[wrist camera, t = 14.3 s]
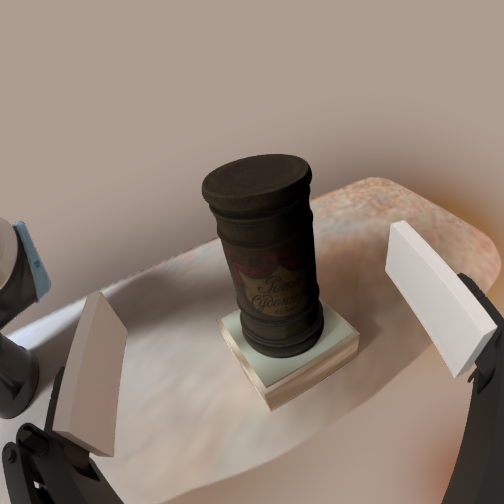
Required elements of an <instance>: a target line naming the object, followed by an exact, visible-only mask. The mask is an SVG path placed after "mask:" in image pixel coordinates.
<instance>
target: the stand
mask: <svg viewBox="0 0 504 504" xmlns="http://www.w3.org/2000/svg"><path fill="white" fill-rule="evenodd" d="M319 300H320V302H321V304H322V307H323V315H324V329H323V332H322V334H321V336H320V338H319V340H318V341H317V343H316V344H315V345H314V346H313V347H312V348H311V349H309V350H308V351H306V352H304V353H303V354H300V355H298V356H295V357H290V358H282V359H281V358H271V357H267V356H264V355H262V354H260V353H258V352H257V351H255V350H254V349H253V348H252V347H251V346H250V345H249V344H248V343H247V341H246V340H245V338H244V336H243V333H242V326H241V323H240V311H241V310H240V309H237V310H235V311H233V312H232V313H230V314H228V315H226V316H224V317H222V318H220V319H218V320H216V321H217V323H218V325H219V328H220V330H221V332H222V334H223V337H224V339H225V341H226V343H227V345H228V346H229V348H230V350H231V351H232V353H233V354H234V356H235V358H236V359H237V361H238V362H239V364H240V365H241V367H242V369H243V370H244V372H245V373H246V375H247V376H248V378H249V379H250V381H251V383H252V384H253V386H254V387H255V389H256V390H257V392H258V393H259V395H260V396H261V398H262V399H263V401H264V402H265V404H266V405H267V406H268V408H269V409H270V411H272V410H274V409H276V408H278V407H279V406H281V405H283V404H285V403H286V402H288V401H290V400H291V399H293V398H295V397H296V396H298V395H300V394H301V393H303V392H304V391H306V390H308V389H309V388H311V387H312V386H314V385H315V384H317V383H319V382H320V381H322V380H323V379H325V378H326V377H328V376H329V375H331V374H332V373H334V372H335V371H336V370H338V369H339V368H341V367H342V366H344V365H345V364H346V363H348V362H349V361H351V360H352V359H353V358H355V357H356V356H357V351H358V345H359V338H360V333H359V332H358V331H357V330H356V329H355V328H353V327H352V326H351V325H350V324H349V323H348V322H347V321H346V320H345V319H344V318H343V317H341V316H340V315H339V314H338V313H337V312H336V311H335V310H334V309H333V308H332V307H330V306H329V305H328V304H327V303H326V302H325V301H324V300H323V299H322V298H321V297H319Z"/></svg>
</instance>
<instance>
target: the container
mask: <svg viewBox="0 0 504 504" xmlns="http://www.w3.org/2000/svg"><path fill="white" fill-rule="evenodd" d="M311 180H312V172H311V168H310V166H309V164H308V163H307V162H306V161H305V160H304V159H302V158H300V157H297V156H293V155H285V154H267V155H258V156H252V157H247V158H244V159H239V160H236V161H233V162H230V163H228V164H225V165H223V166H221V167H219V168H217V169H215V170H214V171H212V172H211V173H209V174H208V175H207V176H206V177H205V179H204V181H203V183H202V195H203V197H204V199H205V200H206V201H207V202H208V203H209V208H210V210H211V212H212V213H213V215H214V216H215V217H216V221H217V234H218V236H219V238H220V239H221V242H222V246H223V250H224V253H225V257H226V260H227V263H228V266H229V269H230V273H231V276H232V280H233V283H234V286H235V290H236V293H237V304H238V307H239V309H240V310H241V311H240V323H241V326H242V333H243V336H244V338H245V340H246V341H247V343H248V344H249V345H250V346H251V347H252V348H253V349H254V350H255V351H257V352H258V353H260V354H262V355H264V356H267V357H271V358H281V359H282V358H290V357H295V356H298V355H300V354H303V353H304V352H306V351H308V350H309V349H311V348H312V347H313V346H314V345H315V344H316V343H317V341H318V340H319V338H320V336H321V334H322V332H323V329H324V315H323V307H322V304H321V302H320V300H319V294H320V291H319V286H318V283H317V278H316V262H315V247H314V234H313V213H312V210H311V209H310V204H309V195H310V186H309V184H310V183H311Z"/></svg>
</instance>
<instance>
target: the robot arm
mask: <svg viewBox="0 0 504 504" xmlns="http://www.w3.org/2000/svg"><path fill="white" fill-rule="evenodd" d="M385 271H386V273H387V274H388V275H389V277H390V278H391V280H392V281H393V282H394V284H395V285H396V287H397V288H398V289H399V291H400V292H401V294H402V295H403V297H404V298H405V300H406V301H407V302H408V304H409V305H410V307H411V308H412V310H413V311H414V313H415V314H416V316H417V318H418V319H419V321H420V322H421V324H422V325H423V327H424V328H425V330H426V331H427V333H428V335H429V336H430V338H431V339H432V341H433V343H434V344H435V346H436V348H437V349H438V351H439V352H440V354H441V356H442V358H443V359H444V361H445V363H446V364H447V366H448V368H449V370H450V371H451V373H452V375H453V377H454V378H456V377H458V376H460V375H461V374H463V373H465V372H466V371H468V370H469V369H470V367H471V366H472V365H473V363H474V362H475V364H476V366H477V368H476V369H475V371H474V372H473V373H472V375H471V376H470V377H469V379H468V382H471V380H472V379H473V378H474V382H473V390H472V396H471V403H470V408H469V413H468V418H467V423H466V427H465V432H464V436H463V440H462V444H461V447H460V451H459V454H458V458H457V462H456V464H455V468H454V471H453V474H452V477H451V480H450V482H449V485H448V488H447V490H446V493H445V496H444V498H443V501H442V503H441V504H504V318H503V317H502V316H501V315H500V313H499V312H498V311H497V309H496V308H495V307H494V306H493V304H492V303H491V302H490V300H489V299H488V298H487V297H485V294H484V293H483V292H482V291H481V290H479V287H478V286H477V285H476V284H475V282H474V281H473V280H472V279H470V278H469V277H467V276H466V275H464V274H463V273H460V274H457V275H456V274H455V273H454V272H453V271H452V269H451V268H450V267H449V266H448V265H447V264H446V263H445V262H444V261H443V259H442V258H441V257H440V256H439V255H438V254H437V253H436V252H435V251H434V250H433V249H432V248H431V247H430V246H429V244H428V243H427V242H426V241H425V240H424V239H423V238H422V237H421V236H420V235H419V234H418V233H417V232H416V231H415V230H414V229H413V228H412V227H411V226H410V225H409V224H408V223H407V222H406V221H405V220H404V221H400V222H395V223H391V227H390V236H389V245H388V253H387V260H386V267H385ZM50 289H51V281H50V278H49V276H48V274H47V272H46V270H45V268H44V265H43V263H42V261H41V259H40V257H39V255H38V252H37V250H36V248H35V246H34V243H33V241H32V239H31V237H30V234H29V232H28V230H27V227H26V225H25V223H24V222H22V221H19V222H18V223H14V224H13V225H12V226H11V224H10V223H9V222H8V221H7V220H5V219H3V218H0V330H1V329H3V328H4V327H5V326H6V325H7V324H9V323H10V322H11V321H13V320H14V319H15V318H16V317H17V316H19V315H20V314H21V313H23V312H24V311H25V310H27V309H28V308H29V307H31V306H32V305H33V304H34V303H38V302H39V301H40V299H41V298H42V297H43V296H44V295H46V294H47V293H48V292H49V291H50ZM127 333H128V330H127V329H126V328H125V326H124V325H123V323H122V322H121V321H120V319H119V318H118V316H117V315H116V313H115V312H114V310H113V309H112V307H111V306H110V304H109V303H108V301H107V300H106V298H105V297H104V295H103V294H102V292H98V293H94V294H89V295H88V297H87V299H86V302H85V305H84V308H83V311H82V314H81V317H80V320H79V323H78V326H77V329H76V332H75V335H74V339H73V342H72V345H71V349H70V352H69V356H68V360H67V363H66V367H61V369H60V370H59V372H58V374H57V375H56V377H55V381H54V385H53V390H52V394H51V399H50V403H49V407H48V412H47V417H46V423H45V428H44V431H42V430H41V429H39V428H38V427H36V426H35V425H33V424H31V423H25V424H23V425H22V426H21V427H20V428H19V429H18V432H17V435H16V444H15V443H13V442H8V443H7V444H6V445H5V446H4V448H3V451H2V462H3V468H4V474H5V479H6V484H7V489H8V493H9V497H10V501H11V504H124V503H123V502H122V500H121V499H120V498H119V497H118V495H117V494H116V493H115V491H114V490H113V489H112V487H111V486H110V484H109V483H108V482H107V480H106V479H105V477H104V476H103V474H102V473H101V472H100V470H99V469H98V467H97V466H96V464H95V462H94V461H93V460H92V459H91V458H90V457H89V452H91V453H93V454H95V455H97V456H102V457H114V441H115V427H116V415H117V404H118V395H119V386H120V379H121V371H122V364H123V357H124V351H125V345H126V339H127ZM38 377H39V367H38V363H37V360H36V359H35V357H34V356H33V355H32V354H31V353H30V352H29V351H28V350H27V349H26V348H24V347H22V346H18V345H17V344H16V343H14V342H13V341H11V340H10V339H8V338H6V337H5V336H3V335H2V334H1V333H0V418H3V419H9V418H12V417H14V416H16V415H18V414H19V413H20V412H21V411H22V410H23V409H24V408H25V407H26V406H27V404H28V403H29V401H30V400H31V398H32V396H33V394H34V392H35V389H36V386H37V382H38ZM34 481H35V482H37V483H39V489H38V488H36V487H35V485H34Z"/></svg>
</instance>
